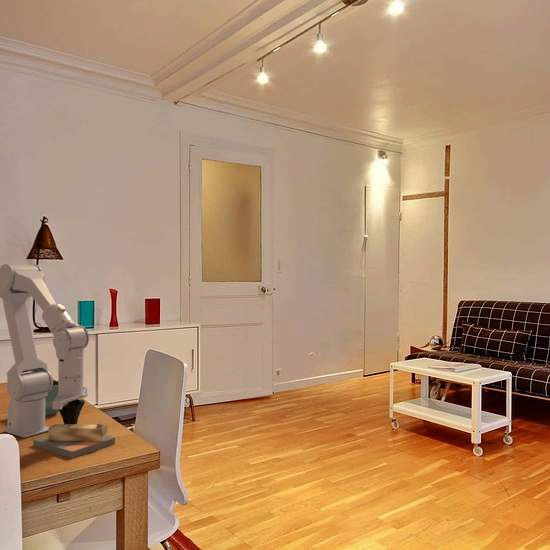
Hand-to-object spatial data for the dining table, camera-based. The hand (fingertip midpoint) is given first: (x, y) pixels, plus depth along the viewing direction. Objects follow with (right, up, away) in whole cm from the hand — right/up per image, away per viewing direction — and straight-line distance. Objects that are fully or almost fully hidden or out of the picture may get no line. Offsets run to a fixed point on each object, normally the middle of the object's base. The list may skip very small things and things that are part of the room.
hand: (70, 431), depth 124 cm
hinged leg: (+3, -1, -2) cm, 4 cm away
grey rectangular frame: (+2, -3, -2) cm, 4 cm away
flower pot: (-17, -3, +24) cm, 30 cm away
